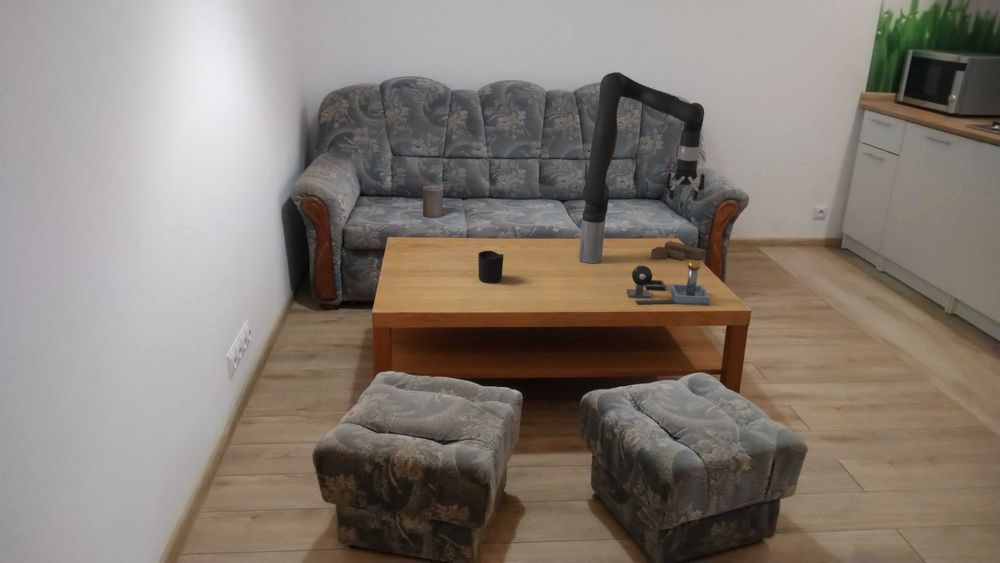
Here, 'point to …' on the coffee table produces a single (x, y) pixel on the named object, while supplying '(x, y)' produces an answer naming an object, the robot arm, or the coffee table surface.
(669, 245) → the wooden block set
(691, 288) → the pin
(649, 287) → the frame
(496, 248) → the coffee table surface
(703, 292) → the tray
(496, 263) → the pen holder
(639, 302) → the strip
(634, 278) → the pulley stand
